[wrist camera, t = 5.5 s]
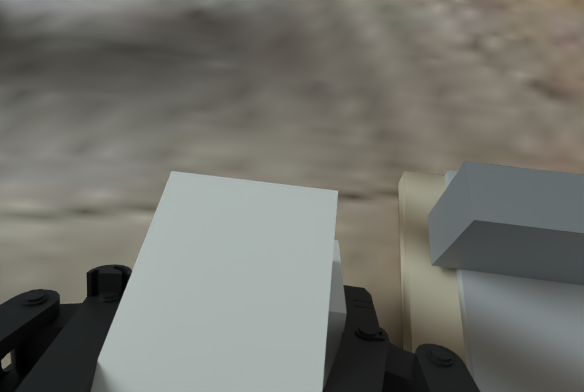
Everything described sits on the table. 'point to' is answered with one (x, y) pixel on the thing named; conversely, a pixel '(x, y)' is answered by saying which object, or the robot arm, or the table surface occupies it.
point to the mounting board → (486, 309)
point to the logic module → (226, 291)
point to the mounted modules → (511, 223)
